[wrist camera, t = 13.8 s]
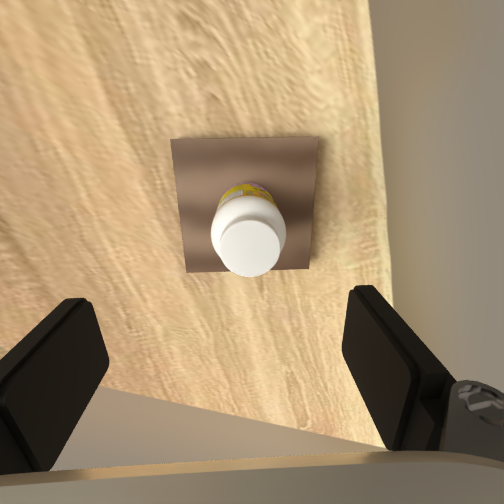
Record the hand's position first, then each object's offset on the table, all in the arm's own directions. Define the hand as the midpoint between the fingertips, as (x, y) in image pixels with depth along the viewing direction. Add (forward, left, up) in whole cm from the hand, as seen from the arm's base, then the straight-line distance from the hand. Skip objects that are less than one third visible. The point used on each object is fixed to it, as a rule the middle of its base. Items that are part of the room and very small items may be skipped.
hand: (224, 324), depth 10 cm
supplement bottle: (+1, +1, -24) cm, 24 cm away
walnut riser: (+2, +1, -27) cm, 27 cm away
